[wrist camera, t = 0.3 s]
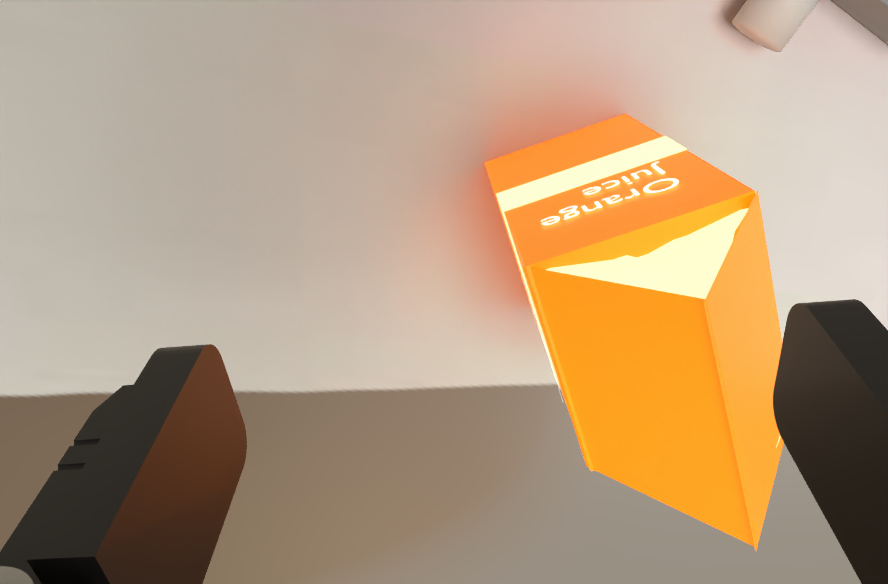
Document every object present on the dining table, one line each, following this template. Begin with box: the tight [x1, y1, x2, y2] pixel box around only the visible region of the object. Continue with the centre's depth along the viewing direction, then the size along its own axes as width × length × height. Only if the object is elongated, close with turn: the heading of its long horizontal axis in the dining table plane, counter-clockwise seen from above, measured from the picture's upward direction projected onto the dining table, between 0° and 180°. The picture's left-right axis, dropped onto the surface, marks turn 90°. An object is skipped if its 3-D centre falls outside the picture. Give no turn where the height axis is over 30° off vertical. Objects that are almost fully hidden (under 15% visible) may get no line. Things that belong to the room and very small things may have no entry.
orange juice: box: [485, 114, 784, 551], centre depth 28 cm, size 8×9×20 cm
